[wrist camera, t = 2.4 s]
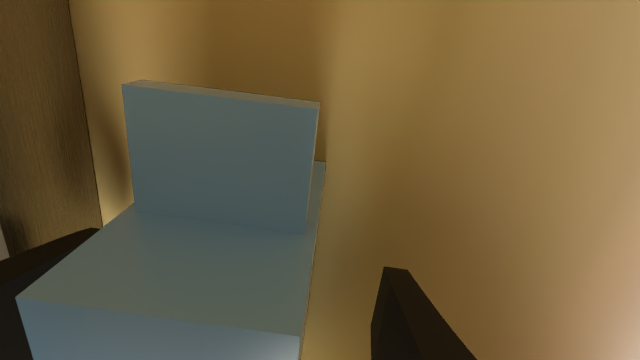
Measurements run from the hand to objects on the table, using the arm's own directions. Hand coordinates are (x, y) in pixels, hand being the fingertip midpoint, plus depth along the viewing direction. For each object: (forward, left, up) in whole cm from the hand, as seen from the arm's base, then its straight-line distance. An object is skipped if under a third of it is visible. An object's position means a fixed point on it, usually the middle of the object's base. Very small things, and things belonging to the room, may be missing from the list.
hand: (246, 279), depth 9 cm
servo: (0, 0, -2) cm, 2 cm away
